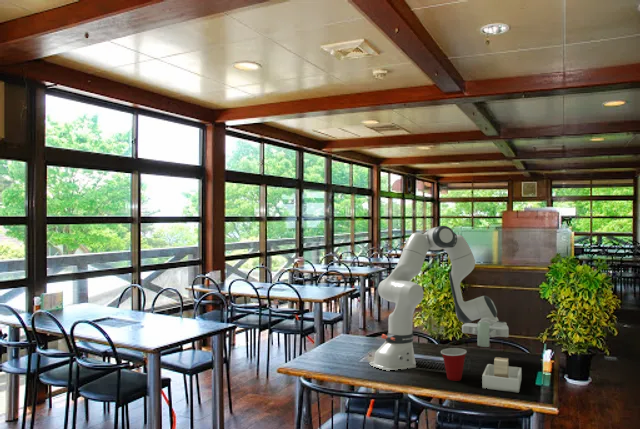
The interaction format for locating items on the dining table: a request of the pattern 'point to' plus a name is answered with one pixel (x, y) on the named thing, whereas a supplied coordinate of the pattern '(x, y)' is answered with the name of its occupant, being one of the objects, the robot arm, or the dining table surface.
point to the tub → (502, 379)
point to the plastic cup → (454, 362)
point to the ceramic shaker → (483, 334)
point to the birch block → (501, 367)
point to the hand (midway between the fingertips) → (483, 333)
